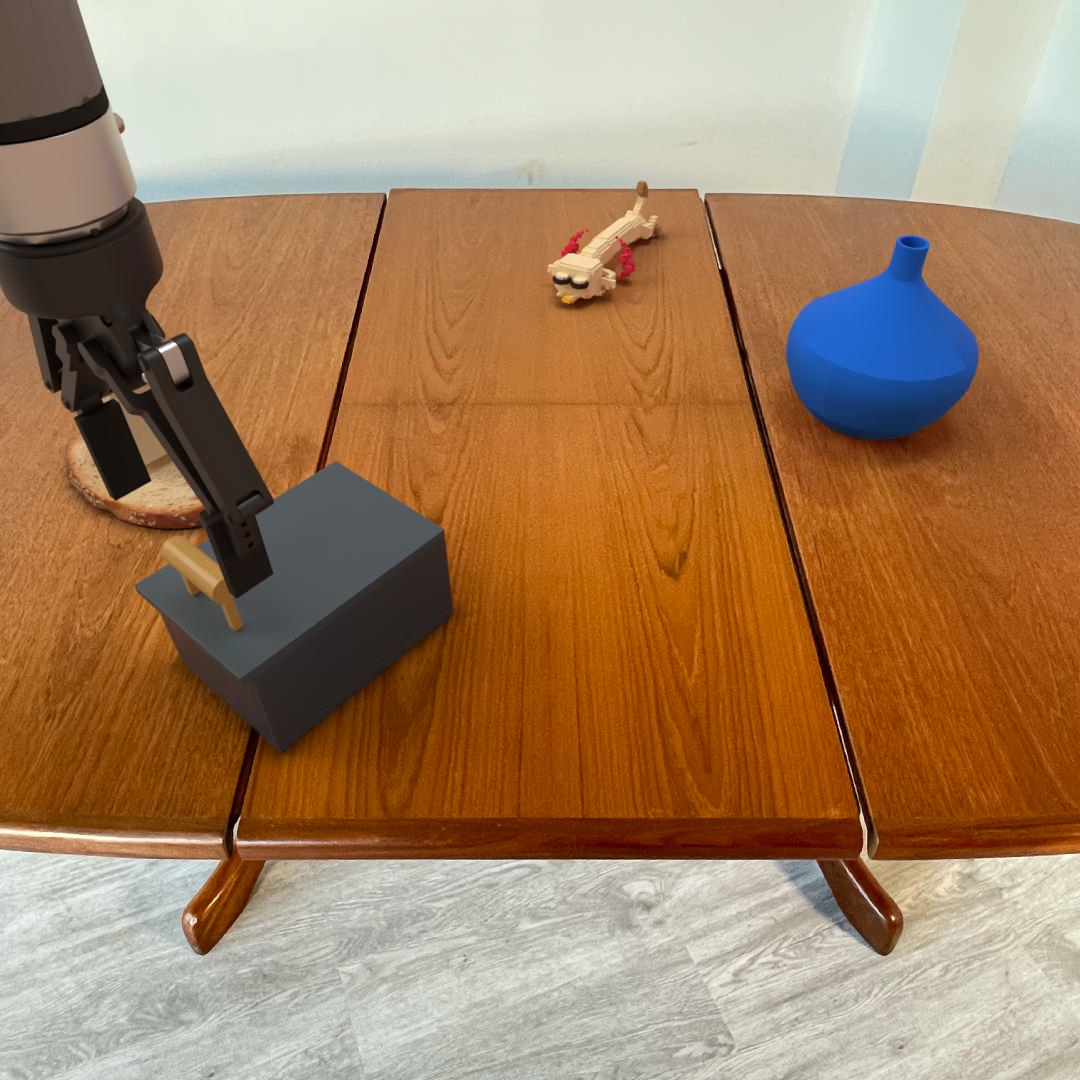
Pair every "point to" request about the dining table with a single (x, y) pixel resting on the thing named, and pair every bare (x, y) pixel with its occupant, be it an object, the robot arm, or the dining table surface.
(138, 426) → the block
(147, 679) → the dining table surface
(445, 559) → the chest
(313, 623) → the chest lid
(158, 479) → the bread slice
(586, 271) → the cream long figure
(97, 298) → the robot arm
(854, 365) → the vase
